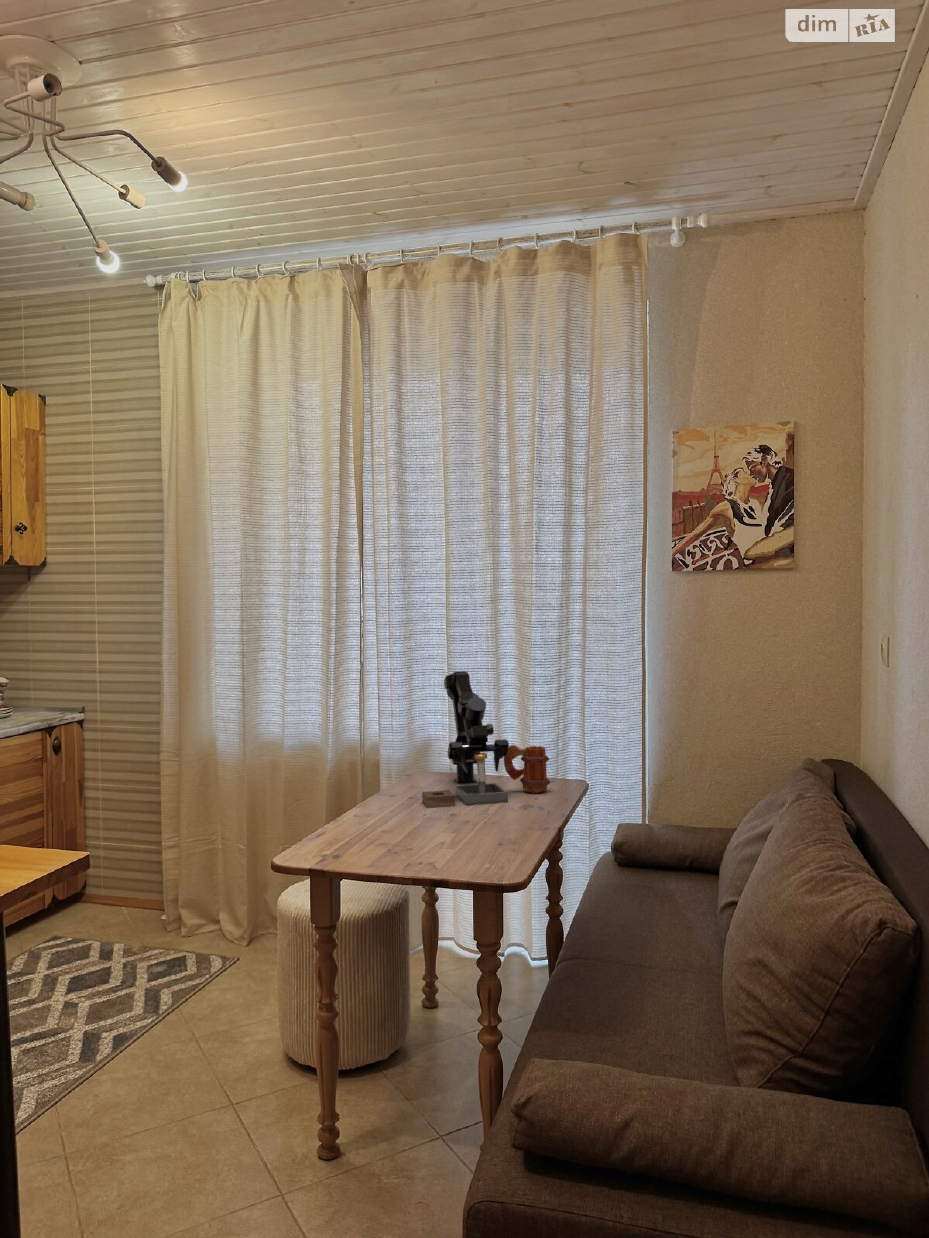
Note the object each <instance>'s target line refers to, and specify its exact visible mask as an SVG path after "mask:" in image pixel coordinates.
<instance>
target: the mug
mask: <svg viewBox="0 0 929 1238" xmlns="http://www.w3.org/2000/svg"><path fill="white" fill-rule="evenodd" d="M519 756H521V757H520V760H521V761H522V762H524V763H523V768H521V769H517V768H516V767H515V766H514V762H513V760H514V759H516V758H517V757H519ZM548 761H550V757H548V755H546V748H545V746H542V745H539V746H536V745H530V746H526V747H525V748H520V747H519V746H518V745H516V744H511V745H509V748H508V752H507V755H506V756H503V765H504V769H505V771H506V773H507V774H508V776H509V777H510V778H511V779H512V780H514V781H515V780H517V779H519V778H520V777H521V778H520V779H519V780H520V783H522V789H523V790H524V791H526V792H528V793H531V794H532V793H533V794H540V793H539V792H541V793H543V792H544V791H546V790H548V785H550V784H551V780H549V778H548V777H547V762H548Z"/></svg>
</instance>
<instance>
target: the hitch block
mask: <svg viewBox="0 0 929 1238" xmlns="http://www.w3.org/2000/svg"><path fill="white" fill-rule="evenodd" d="M421 797H422V798H421V799H422V804H424V805H425V807H426V808H427V809H431V808H441V807H455V806H456V794H453V792H452V791H451V790H449V789H445V790H444V789H443V790H433V791H431V790H430V791H422V792H421Z"/></svg>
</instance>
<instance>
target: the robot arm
mask: <svg viewBox="0 0 929 1238" xmlns="http://www.w3.org/2000/svg"><path fill="white" fill-rule="evenodd" d="M470 678H471V677H470V674H469V673H468V672H467V671H465V670H463V671H454V672H452V673H451V674H448V675H446V676H445V677H444V678H443V685H444V689H446V694H447V695H446V696H447V697H449V698H450V699H451V701H452V706H453V707H452V708H453V714H454V722H455V729H456V737H455V741H450V742H449V743H448V748H447V758H448V759H449V760H451V764H452V765H454V766H456V778H454V779H453V780H454V781H455V782H456V783H457V784H471V783H478V779H475V777H474V776H475V774H474V772H475V771H474V764H475V765H477V759H474V754H476V753H486V752H487V753H490V752H491V753H492V752H493V763H494V769H495V771H496V773H497V772H498V771H499V765H500V760H501V759H504V756H506V755H507V752H508V748H509V746H510V744H509V741H508V739H506V738H505V739H503V738H502V739H495V740H494V743H493V744H487V743H488V741H489V739H488V737H489V736H492V735H493V734H494V726H493V725H494V724H493V723H486V725H483V720H484V716H485V712H486V708H487V702H486V701H485V699H483V697H482V698H481V697H479V694H477V693H474V691H473V689H472V686H471V679H470Z"/></svg>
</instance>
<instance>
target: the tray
mask: <svg viewBox="0 0 929 1238" xmlns="http://www.w3.org/2000/svg"><path fill="white" fill-rule="evenodd" d="M455 797H456V798H458V799H459V800H460V801H461V802H462V803H463V804H464V805H465V804H466V805H465V806H475V804H478V805H486V804H487V805H488V804H498V803H499V804H501V803H500V802H503V803H509V792H508V791H507V790H505V789H504V788H503V787H501V786H500V785H499V784H497V783H486V793H484V794H478V784H469V785H467V784H466V785H465V784H464V785H455Z"/></svg>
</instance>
